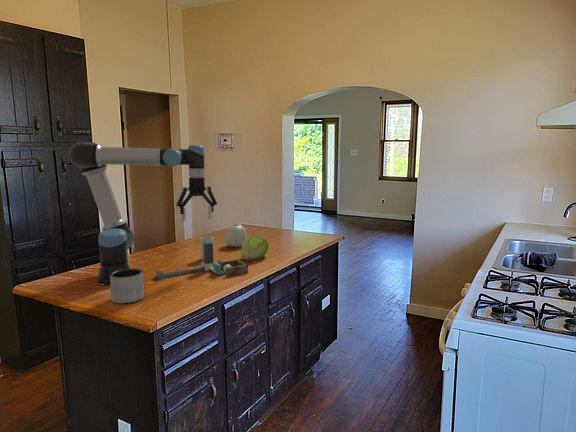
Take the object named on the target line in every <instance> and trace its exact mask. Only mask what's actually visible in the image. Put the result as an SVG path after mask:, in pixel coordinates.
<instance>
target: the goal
mask: <svg viewBox="0 0 576 432" xmlns="http://www.w3.org/2000/svg"><path fill="white" fill-rule="evenodd" d="M218 264H220V265H221V271H224V270H223V267H224V266H225V265H227V264H228V265H230V266H231V267H229V268H226V272H225V277H227V278H228V277H232V276H238V275H244V274H248V273H249V264H247V263H245V262H242V261H240V260H239V259H230V260H224V261H222V262H218Z"/></svg>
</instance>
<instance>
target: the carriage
mask: <svg viewBox="0 0 576 432" xmlns="http://www.w3.org/2000/svg"><path fill="white" fill-rule="evenodd" d="M213 247H214V243H211V242H207V243H203V248H204V260H203V261H201V264H200V265H201V266H200V267H204V269H205V271H204V272H209V271H212V272H213V274H216V275H218V276H221V275H222V276H223V274H224V272H223V270H221V265H220V264H218V263H217V261H214V252H213Z"/></svg>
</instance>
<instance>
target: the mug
mask: <svg viewBox="0 0 576 432" xmlns="http://www.w3.org/2000/svg"><path fill="white" fill-rule="evenodd" d="M199 239H200V241H199V243H200V256H201V258H200V259H201V261H204V248H203V243H207V242H211V243H213V253H215V251H216V241H215V237H213V236H202V237H199Z"/></svg>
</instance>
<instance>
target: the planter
mask: <svg viewBox="0 0 576 432" xmlns="http://www.w3.org/2000/svg"><path fill="white" fill-rule="evenodd" d="M143 273H144V272H143V270H142V269H139V268H130V269H121V270H117V271H114V272H112V273H110V299H111V300H110V301H112V302H113V303H115V302H117V303H116V304H118V303H128V304H132V303H131V302H134V303H137V302H140V301H141V300H143V298H144V297H145V287H144V274H143ZM136 301H137V302H136Z"/></svg>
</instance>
